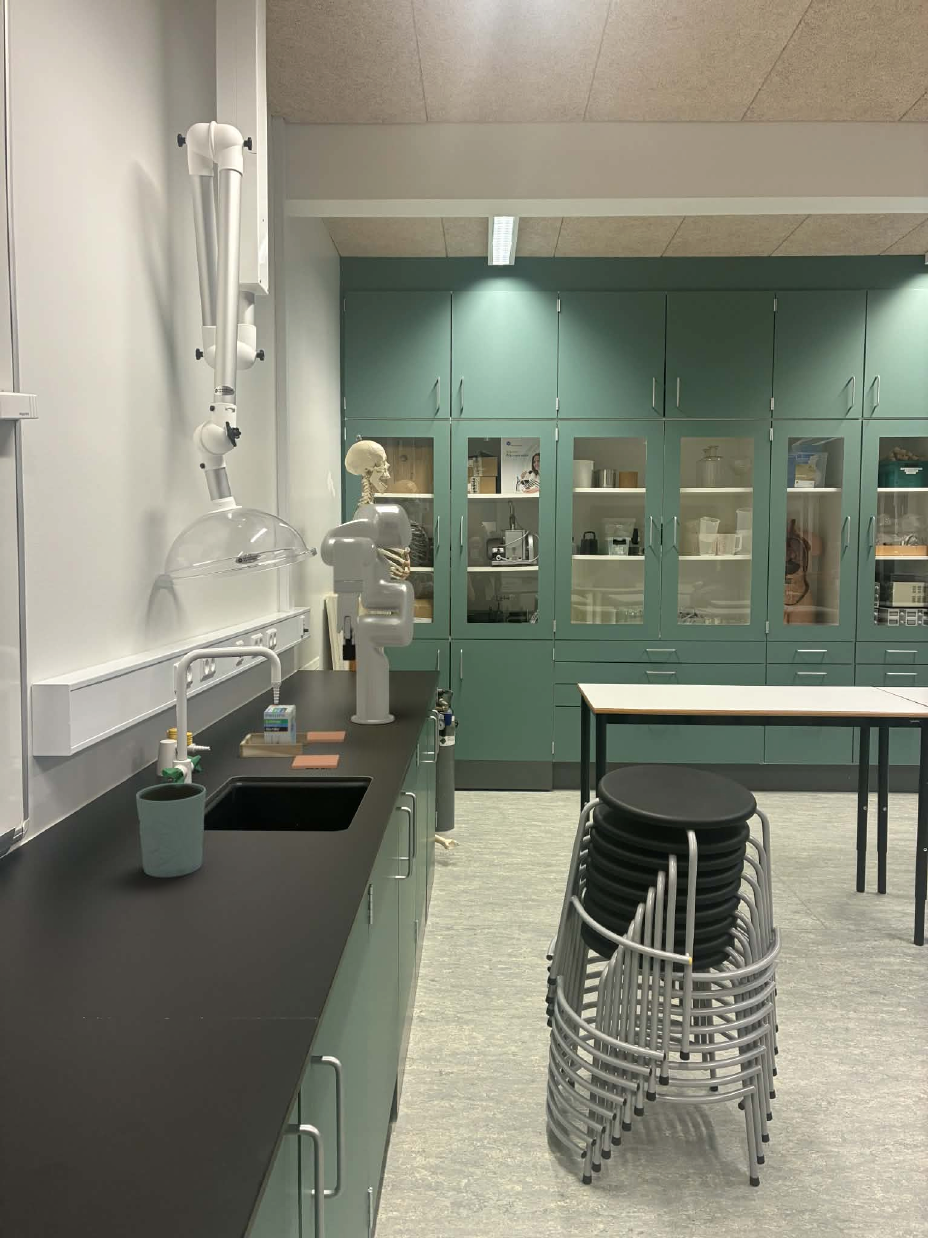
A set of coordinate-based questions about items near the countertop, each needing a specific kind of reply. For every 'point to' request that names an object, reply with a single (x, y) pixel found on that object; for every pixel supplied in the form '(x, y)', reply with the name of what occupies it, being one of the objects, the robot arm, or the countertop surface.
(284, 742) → the light bulb box
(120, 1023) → the countertop surface
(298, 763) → the plate
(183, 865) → the teal cup
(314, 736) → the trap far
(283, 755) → the wooden tray
